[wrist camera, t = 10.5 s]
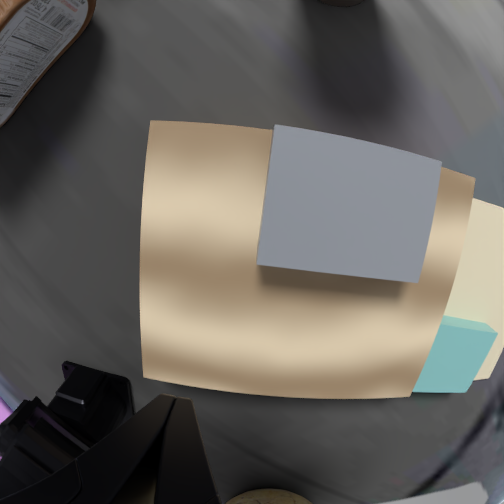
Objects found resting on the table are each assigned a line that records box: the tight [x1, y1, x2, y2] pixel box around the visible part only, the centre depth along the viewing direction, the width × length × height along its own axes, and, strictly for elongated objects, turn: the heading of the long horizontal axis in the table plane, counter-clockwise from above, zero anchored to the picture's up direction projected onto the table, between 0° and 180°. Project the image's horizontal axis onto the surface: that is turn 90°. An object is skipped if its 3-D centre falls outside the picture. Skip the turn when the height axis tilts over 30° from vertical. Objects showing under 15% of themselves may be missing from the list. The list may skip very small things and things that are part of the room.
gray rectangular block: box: [256, 125, 442, 283], centre depth 14 cm, size 6×8×2 cm
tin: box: [0, 0, 96, 127], centre depth 12 cm, size 15×3×8 cm, turn 128°
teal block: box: [412, 315, 498, 393], centre depth 20 cm, size 6×8×2 cm
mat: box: [444, 198, 504, 380], centre depth 20 cm, size 16×13×1 cm
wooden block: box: [140, 121, 475, 399], centre depth 18 cm, size 15×18×4 cm
